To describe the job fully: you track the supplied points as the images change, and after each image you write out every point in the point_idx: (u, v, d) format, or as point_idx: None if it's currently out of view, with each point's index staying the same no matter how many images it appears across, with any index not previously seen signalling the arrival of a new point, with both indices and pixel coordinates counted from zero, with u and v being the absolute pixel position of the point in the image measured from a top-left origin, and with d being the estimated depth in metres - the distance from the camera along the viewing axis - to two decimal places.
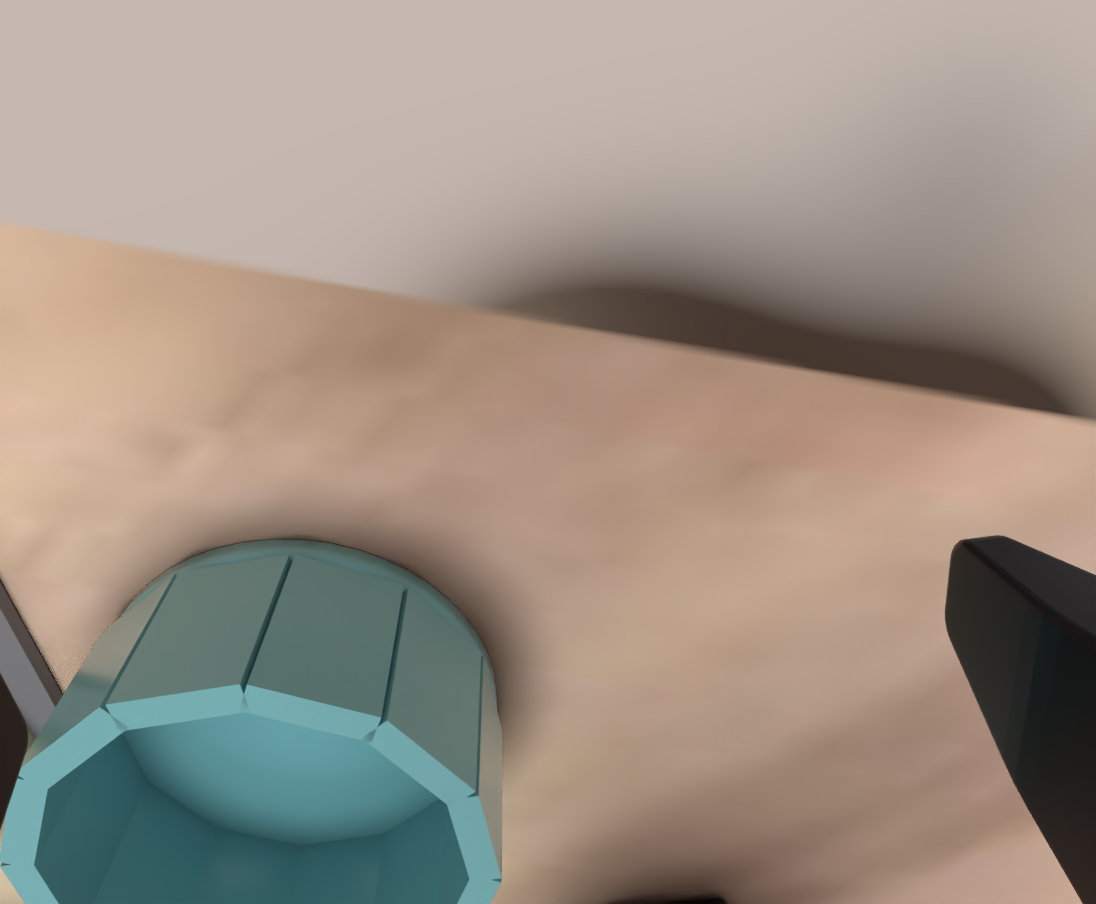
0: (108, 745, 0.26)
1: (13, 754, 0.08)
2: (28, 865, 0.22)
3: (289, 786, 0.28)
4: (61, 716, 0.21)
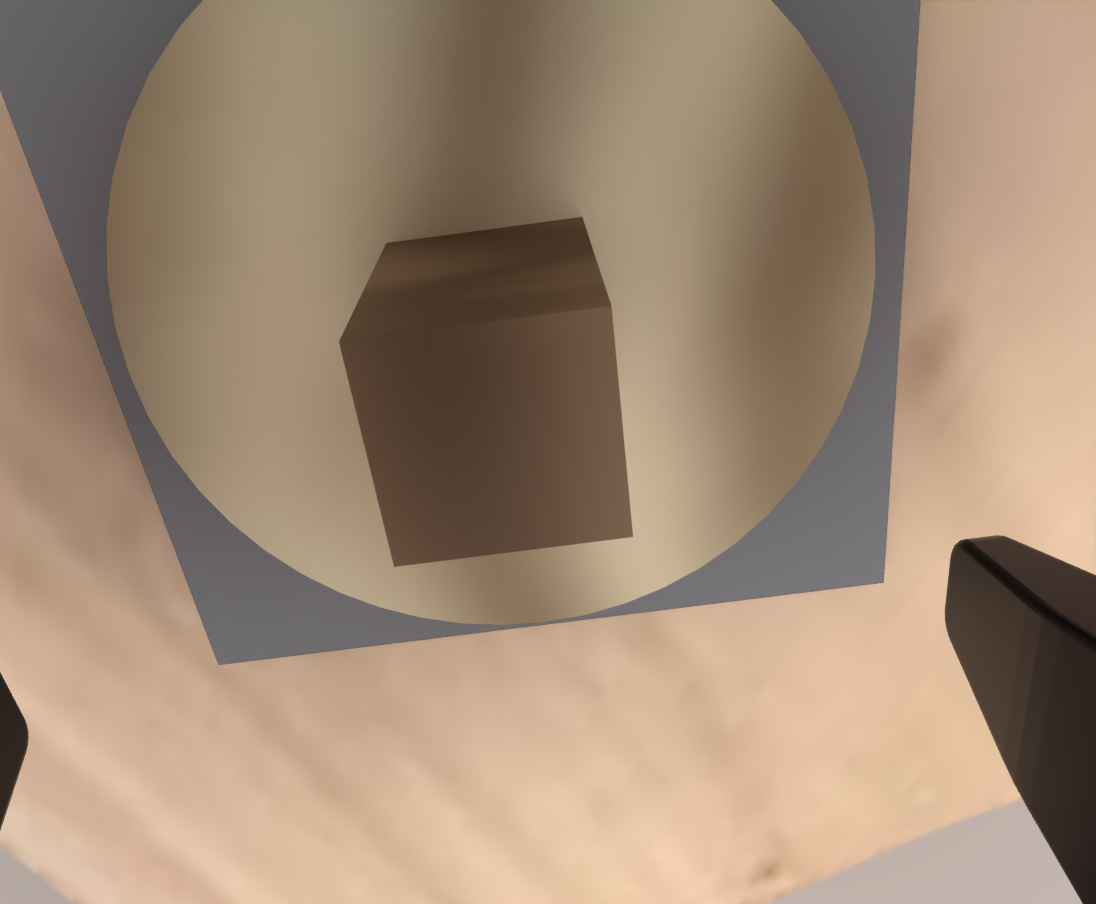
0: None
1: (13, 754, 0.08)
2: None
3: None
4: None
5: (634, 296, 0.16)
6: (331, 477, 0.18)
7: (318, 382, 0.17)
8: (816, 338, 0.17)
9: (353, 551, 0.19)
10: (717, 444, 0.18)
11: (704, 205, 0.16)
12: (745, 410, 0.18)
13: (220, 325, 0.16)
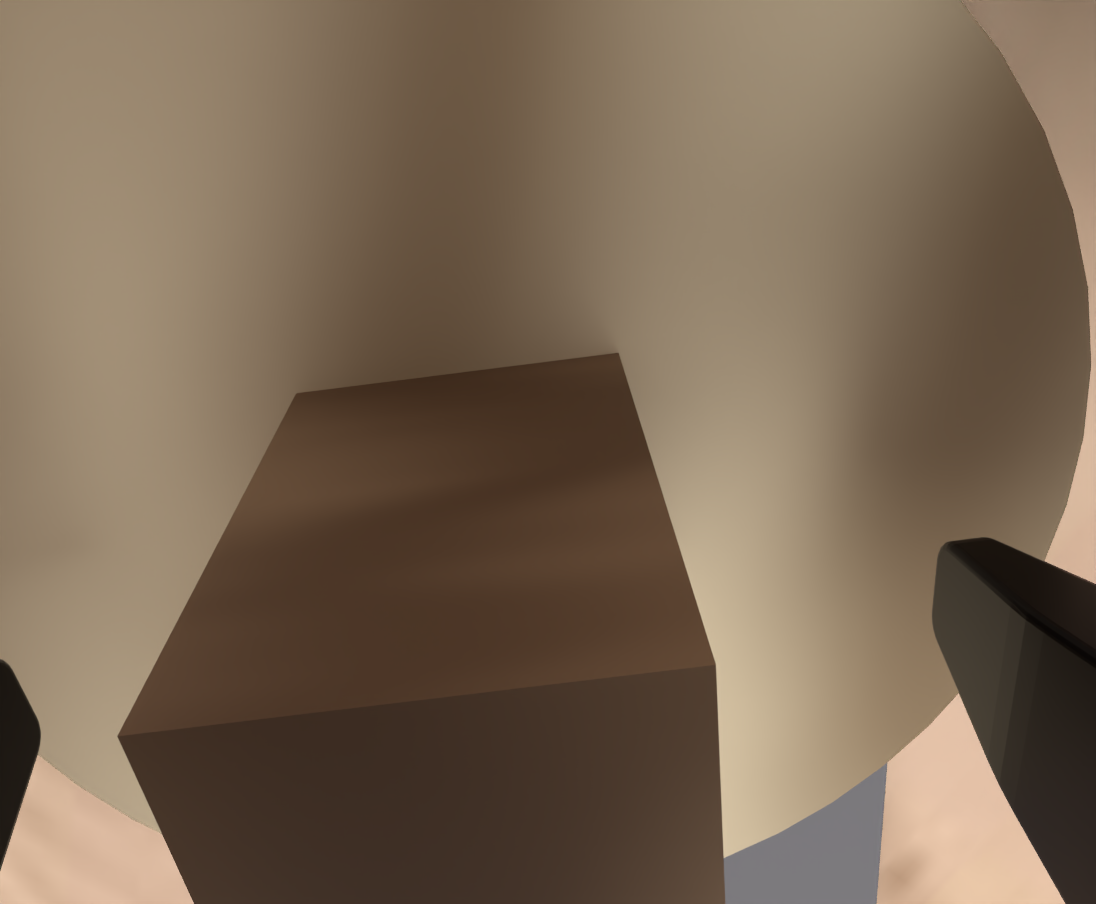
0: None
1: (26, 752, 0.08)
2: None
3: None
4: None
5: (698, 471, 0.10)
6: None
7: None
8: (981, 529, 0.11)
9: None
10: (815, 675, 0.12)
11: (819, 335, 0.10)
12: (861, 629, 0.11)
13: (33, 515, 0.10)
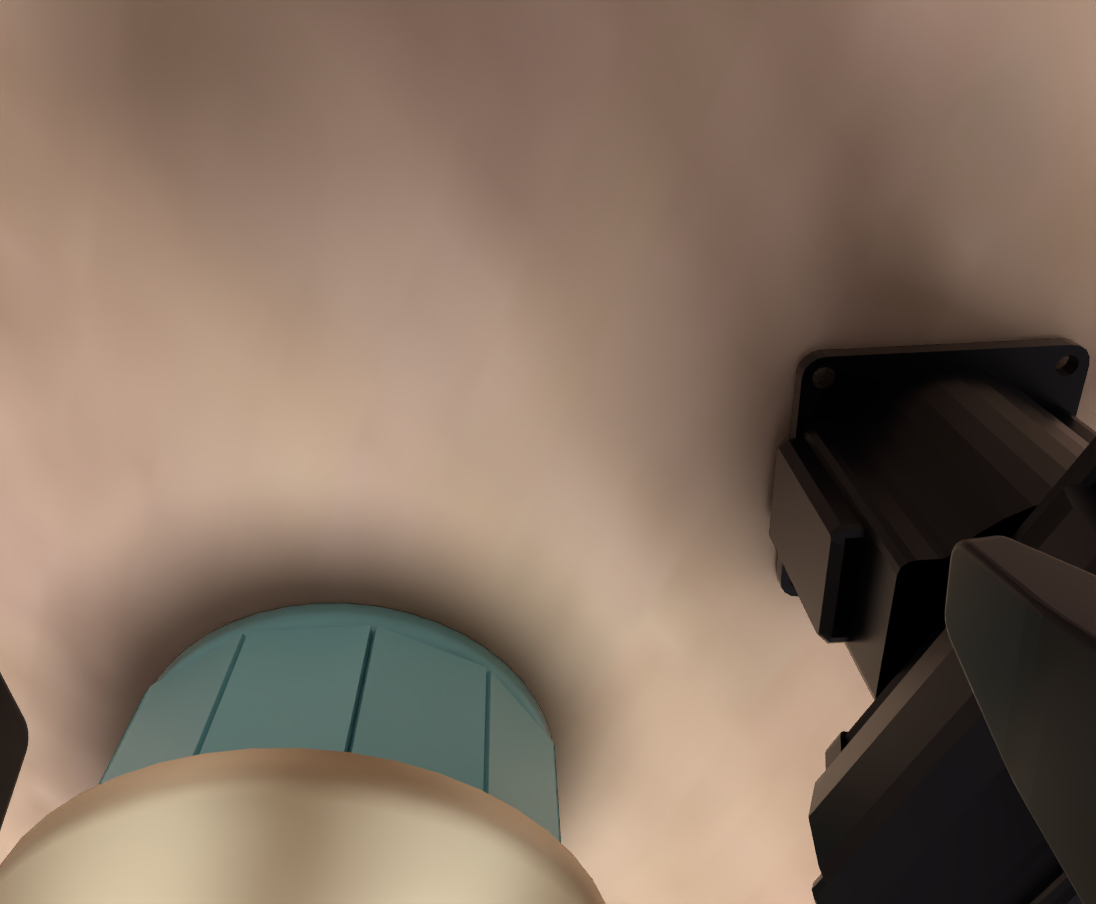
0: None
1: (13, 754, 0.08)
2: None
3: None
4: None
5: None
6: None
7: None
8: None
9: None
10: None
11: None
12: None
13: None
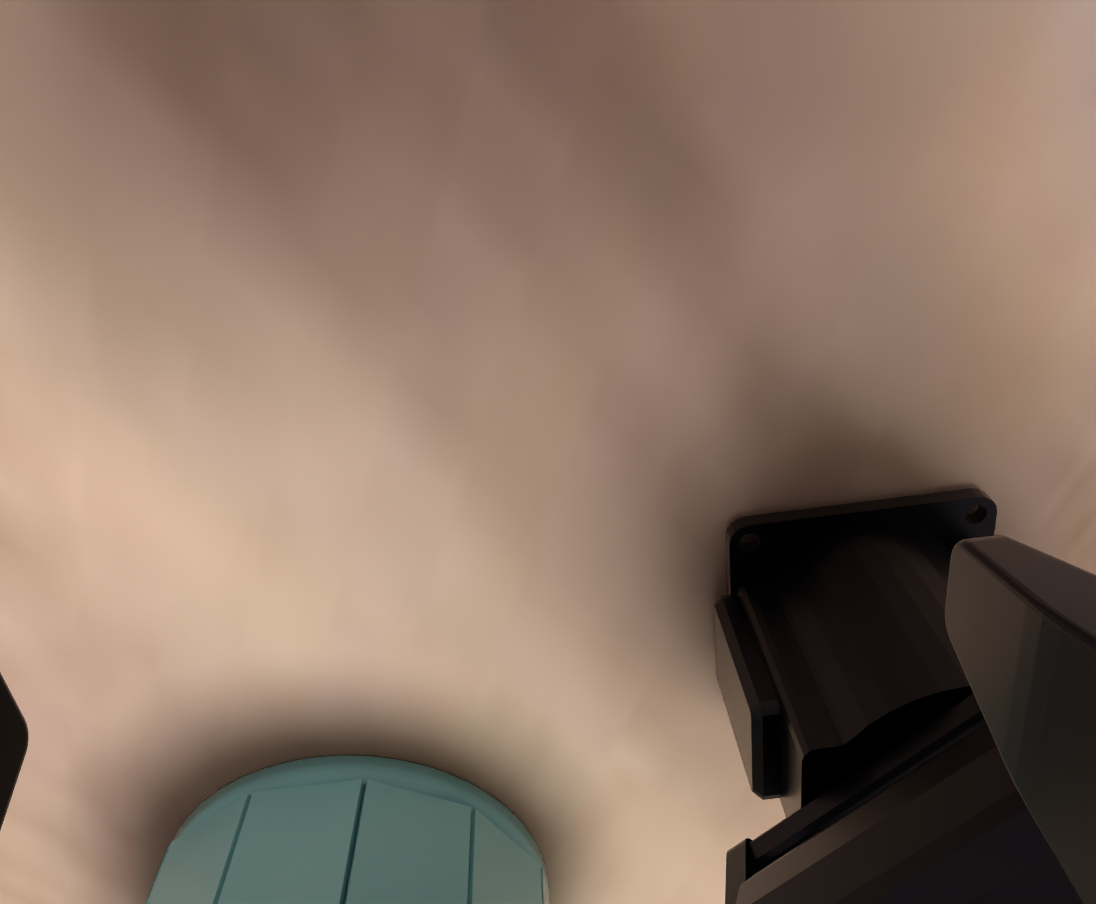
0: None
1: (13, 754, 0.08)
2: None
3: None
4: None
5: None
6: None
7: None
8: None
9: None
10: None
11: None
12: None
13: None
